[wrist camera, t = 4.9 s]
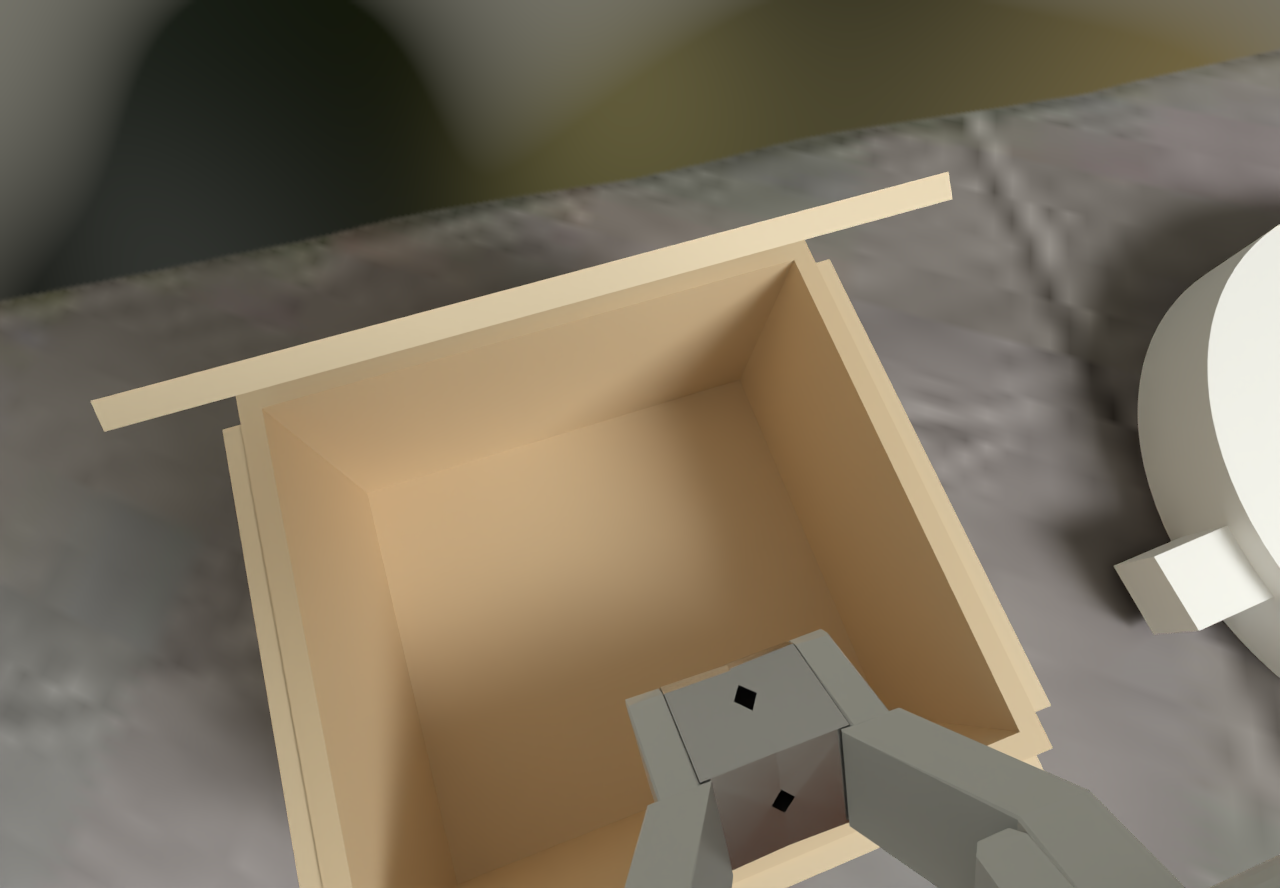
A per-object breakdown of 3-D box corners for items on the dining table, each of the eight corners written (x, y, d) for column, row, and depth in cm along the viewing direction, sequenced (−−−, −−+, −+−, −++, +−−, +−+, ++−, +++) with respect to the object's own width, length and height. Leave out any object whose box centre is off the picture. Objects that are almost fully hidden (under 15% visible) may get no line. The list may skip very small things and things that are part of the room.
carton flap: (787, 243, 24) (952, 199, 16) (260, 388, 21) (104, 431, 13) (783, 226, 24) (948, 171, 15) (253, 369, 21) (90, 400, 13)
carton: (916, 734, 30) (1081, 762, 20) (435, 929, 27) (331, 1085, 16) (755, 365, 36) (819, 235, 25) (340, 490, 32) (216, 400, 22)
